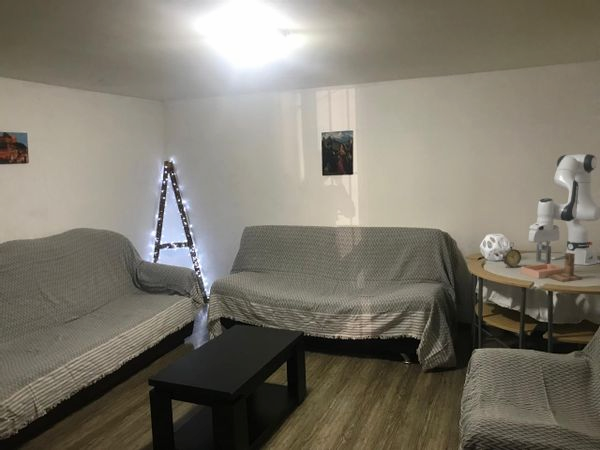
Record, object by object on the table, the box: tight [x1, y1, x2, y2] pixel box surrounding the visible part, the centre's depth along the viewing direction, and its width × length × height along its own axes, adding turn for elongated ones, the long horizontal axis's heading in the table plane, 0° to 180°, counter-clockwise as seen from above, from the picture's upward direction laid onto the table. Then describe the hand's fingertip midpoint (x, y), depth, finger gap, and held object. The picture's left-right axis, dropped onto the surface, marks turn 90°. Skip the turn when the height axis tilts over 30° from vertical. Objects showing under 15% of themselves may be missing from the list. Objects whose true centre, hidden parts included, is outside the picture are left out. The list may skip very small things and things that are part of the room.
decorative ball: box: [479, 233, 512, 262], centre depth 329 cm, size 20×20×17 cm
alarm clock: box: [502, 241, 522, 269], centre depth 307 cm, size 11×5×16 cm, turn 101°
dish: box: [520, 263, 564, 279], centre depth 288 cm, size 20×14×4 cm
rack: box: [547, 252, 582, 283], centre depth 276 cm, size 17×10×14 cm, turn 108°
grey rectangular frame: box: [535, 243, 552, 265], centre depth 287 cm, size 2×8×10 cm, turn 18°
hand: (543, 248), depth 286 cm, fingers closed on grey rectangular frame, 2 cm apart
